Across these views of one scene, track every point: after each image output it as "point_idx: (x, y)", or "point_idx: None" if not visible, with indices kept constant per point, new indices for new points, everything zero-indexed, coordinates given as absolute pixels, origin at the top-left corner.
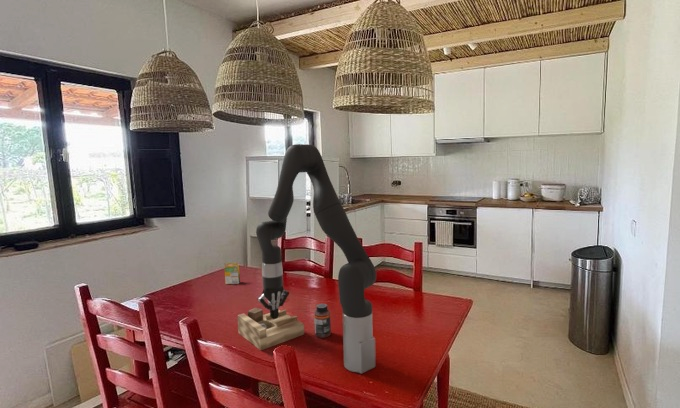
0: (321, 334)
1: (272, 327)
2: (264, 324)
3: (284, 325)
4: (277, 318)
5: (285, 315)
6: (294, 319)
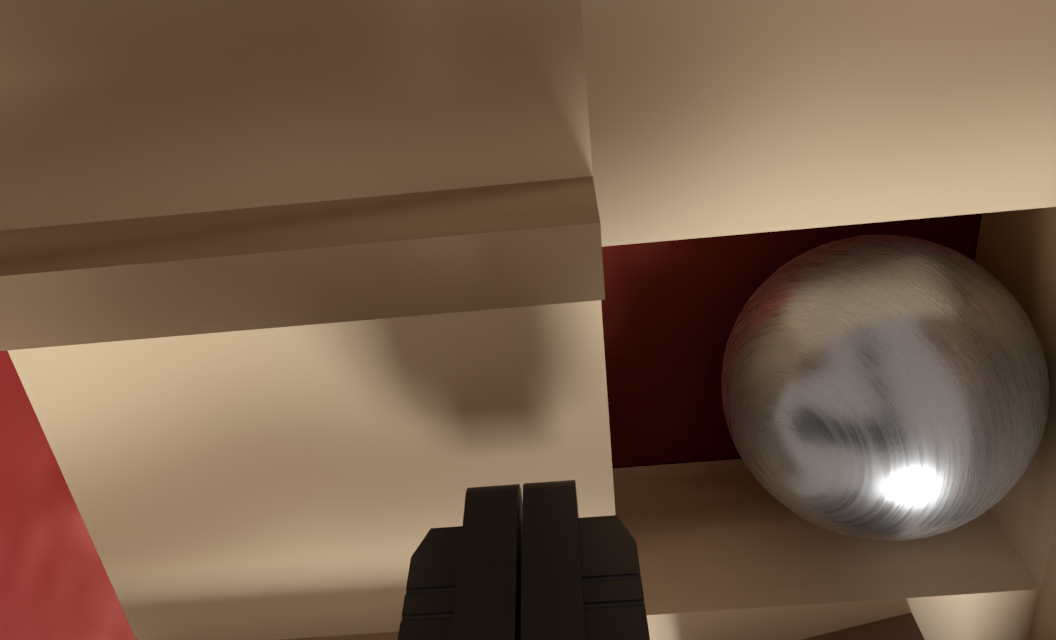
0: None
1: (726, 226)
2: (841, 436)
3: (397, 142)
4: (398, 572)
5: (181, 603)
6: (21, 247)
